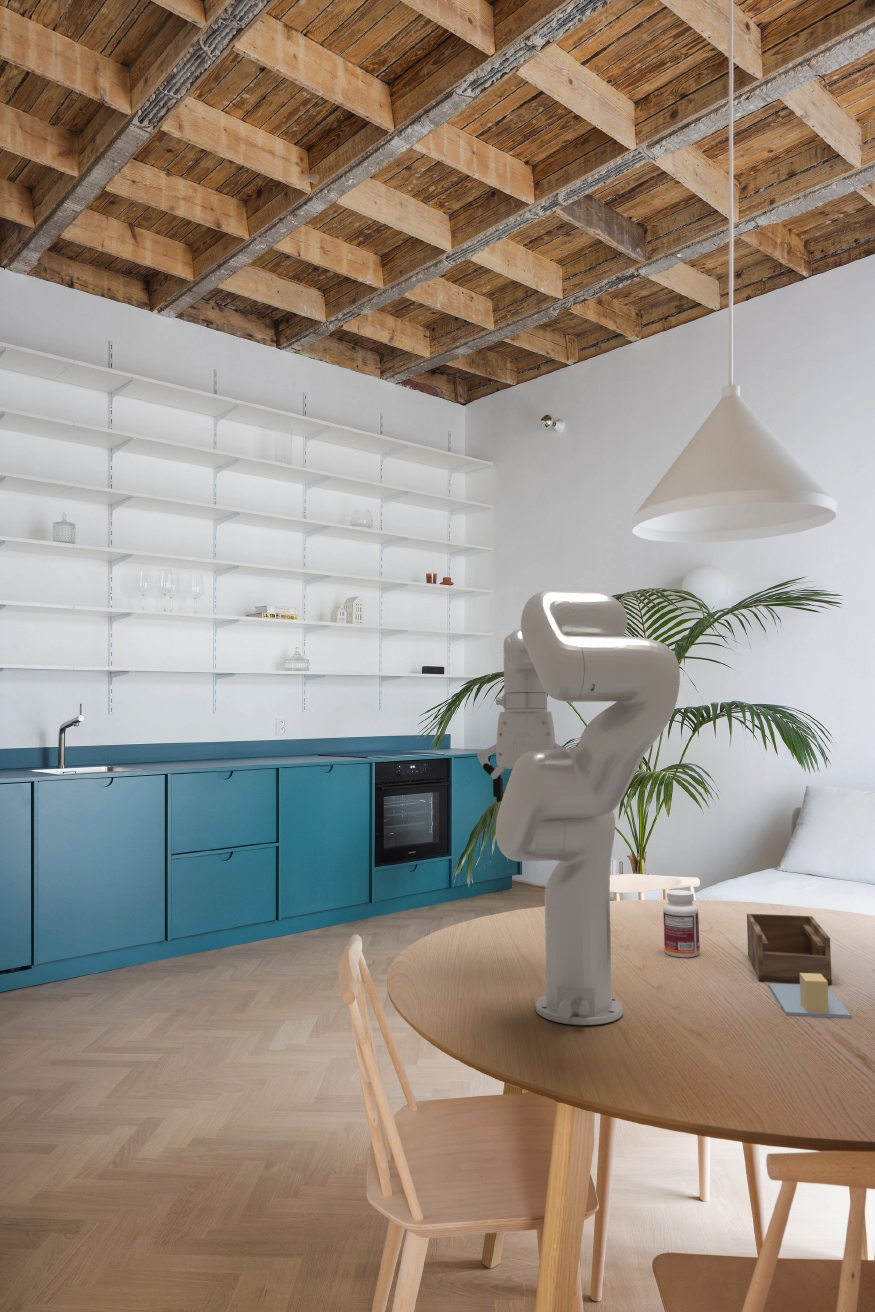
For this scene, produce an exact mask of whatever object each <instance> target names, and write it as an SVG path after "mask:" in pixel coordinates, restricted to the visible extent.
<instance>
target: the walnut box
mask: <svg viewBox="0 0 875 1312" xmlns="http://www.w3.org/2000/svg"><path fill="white" fill-rule="evenodd" d="M746 925H747V926H746V929H747V932H746V934H747V956H748V959H749V961H750V963H751V965H752V968H753V970H754V972H755V976H756V977H757V980H758V982H762V983H763V982H767V983H781V984H800V973H815V974H822V976H823V977H824V978H825V979H826V980H827V982H828V986H832V984H833V983H832V981H833V979H832V957H831V956H832V955H831V953H832V951H831V938H830V936H829V935H828V934H827V933H826V931H825V930H824V929H823V927H822V926H821V925H820V924H819V923H818V921H817V920H816V919H815V918H814V917H813V916H812V915H798V914H797V915H796V914H795V915H790V914H769V913H768V914H767V913H766V914H764V913H746Z"/></svg>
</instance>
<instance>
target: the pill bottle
mask: <svg viewBox="0 0 875 1312" xmlns="http://www.w3.org/2000/svg"><path fill="white" fill-rule="evenodd" d="M694 896H695V895H694V892H693V891H690V890H683V889H670V890H668V891H666V899H667V901H668V902H667V903H666V904H664V905H663V909H662V910H663V911H662V912H663V939H664V941H663V942H664V943H663V944H664V951H665V953H666V954H667V955H668V956H671V957H676V958H683V959H684V958H685V959H686V958H695V957H697V956H698V955H699V954H700V945H701V944H700V926H699V925H700V923H699V919H700V918H699V908H698V907H697V905H696V904H694V903H693V902H694Z"/></svg>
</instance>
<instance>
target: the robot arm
mask: <svg viewBox="0 0 875 1312" xmlns="http://www.w3.org/2000/svg"><path fill="white" fill-rule="evenodd" d="M627 627H628V615H627V612H626V609H625V608H624V606H623V605H622V603H621V602H620V601H619V600H618V599H616V598H615V597H613V596H611V595H609V594H608V593H603V592H597V591H572V590H571V591H570V590H569V591H568V590H564V591H563V590H543V591H540V592H537V593H535V594H533V595H531V597H530V598H528V600H527V602H526V603H525V604H524V606H523V610H522V613H521V618H520V628H518V629H515V630H513V631H511V633H510V634H508V635H507V636H505V638H504V640H503V695H502V696H499V697H496V698H495V705H497V706H502V707H503V709H504V711H499V715H498V721H497V729H496V744H494V745H491V746H490V747H487V748H486V749H484V750H481V751H480V752H479V753H477V754H476V755H477V759H478V761H479V762H480V764H481V766H482V769H483V770H484V771H485V772H486V773H487V774H488V775H489V776H490V778H491V779H492V795H493V798H496V803H500V805H499V809H498V812H497V815H496V821H495V840H496V844H497V847H498V849H499V851H500V852H501V853H502V855H504V857H506V858H507V859H508V860H512V861H514V862H546V861H547V862H548V861H549V862H550V861H558V863H557V864H556V866H555V867H554V869H553V871H552V872H551V874H550V875H549V877H548V879H547V882H546V885H545V888H544V923H545V924H544V925H545V926H544V930H545V931H544V932H545V933H544V934H545V935H544V936H545V937H544V938H545V940H544V941H545V990H546V991H545V993H546V994H544V995H541V996H540V997H539V998H537V999H536V1000H535V1001H536V1002H535V1011H536V1013H537V1014H538V1015H539V1016H540V1017H542V1018H544V1019H547V1020H549V1021H551V1022H556V1023H560V1024H565V1025H573V1026H595V1025H598V1026H599V1025H603V1024H609V1023H611V1022H615V1021H617V1020H618V1019H620V1018H621V1017H622V1016H623V1013H624V1009H623V1007H624V1006H623V1004H622V1003H621V1001H620V1000H618V999H617V998H615V997H613V996H612V993H613V991H612V954H611V953H612V946H611V944H612V943H611V940H612V939H611V896H610V895H611V894H610V891H611V889H610V887H611V886H610V885H611V881H610V880H611V861H612V854H613V848H614V847H613V846H614V841H615V835H616V834H615V833H616V832H615V831H616V819H615V814H614V811H615V810H616V808H618V806H619V805H620V804H621V801H622V800H623V798H624V797H625V795H626V793H627V791H628V788H629V786H630V784H631V782H632V780H633V779H634V777H635V775H636V773H637V771H638V769H639V766H640V764H641V761H642V759H644V756H645V754H646V753H648V751H649V750H650V748H651V747H652V745H653V744H655V742H656V741H657V740H658V738H659V737H660V735H662V733H663V731H664V730H665V729H666V727H667V726H668V724H669V721H670V720H671V718H672V716H673V713H674V711H675V708H676V705H677V703H678V702H677V701H678V697H679V692H680V683H681V672H680V664H679V661H678V657H677V656H676V654H675V652H674V651H673V650H672V649H671V648H670V647H669V646H668V645H667V644H665V643H662V642H661V641H658V640H655V639H652V638H647V637H639V636H624V635H625V634H626V630H627ZM548 696H549V697H550V698H552V699H554V700H556V701H561V702H571V703H573V702H575V703H576V702H577V703H579V702H581V703H582V702H584V703H585V702H586V703H587V702H589V703H590V702H592V703H593V702H595V703H597V702H599V703H600V702H601V703H602V702H603V703H604V702H606V703H607V702H614V703H613V704H612V705H610V706H608V707H607V708H605V709H604V710H603V711H601V712H599V713H598V714H597V715H596V716H594V718H593V719H592V720H591V721H590V722H589V723H588V724H587V726H586V727H585V728H584V729H583V732H582V734H581V736H580V739H579V741H578V743H577V745H576V746H574V747H571V748H565V747H564V746H563V745H560V744H558V743H556V736H555V726H554V721H553V720H554V719H553V716H552V715H553V714H552V712H551V711H548ZM493 754H495V757H496V758H495V760H496V765H497V766H496V767H493V765H492V764H491V763H490V762H489V759H488V758H489V756H491V755H493ZM506 769H510V770H511V773H510V775H509V779H508V782H507V784H506V787H505V789H504V779H503V778H502V774H503V773H504V772H505V770H506ZM504 790H505V791H504Z"/></svg>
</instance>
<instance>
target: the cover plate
mask: <svg viewBox="0 0 875 1312" xmlns="http://www.w3.org/2000/svg"><path fill="white" fill-rule="evenodd" d="M767 983H768V985H767V986H768V987H767V988H768V989H769V990H770V992H771V993H772V995H773V997H774V998H775V1000H776V1002H777V1003H778V1005H779V1007H780V1008H781V1010H782V1012H783V1013H784V1014H785V1016H787V1017H788V1016H789V1017H790V1016H791V1017H810V1018H829V1019H831V1018H832V1019H849V1020H851V1019H852V1014H851V1013H850V1012H849V1010H847V1008H846V1007H845V1005H844V1004H843V1003H842V1002H841V1001H840V1000H839V998H837V996H836V995H835V994H834V992H833V991H832V990H831V989H830V988H829V985H828V982H827V980H826V979H825V978H824V977H823V976H822V974H815V973H800V983H799V984H797V983H772V982H767Z"/></svg>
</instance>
